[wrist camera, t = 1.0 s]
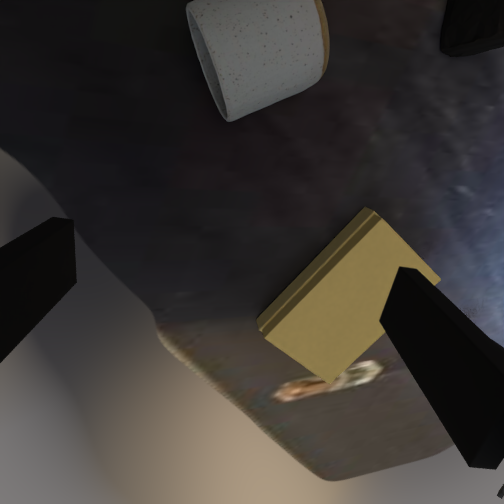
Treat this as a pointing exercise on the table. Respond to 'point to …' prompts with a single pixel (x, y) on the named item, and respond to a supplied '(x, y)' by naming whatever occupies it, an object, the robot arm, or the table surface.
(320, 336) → the tan lidded box
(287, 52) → the ceramic mug
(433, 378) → the robot arm
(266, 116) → the table surface
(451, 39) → the film camera
